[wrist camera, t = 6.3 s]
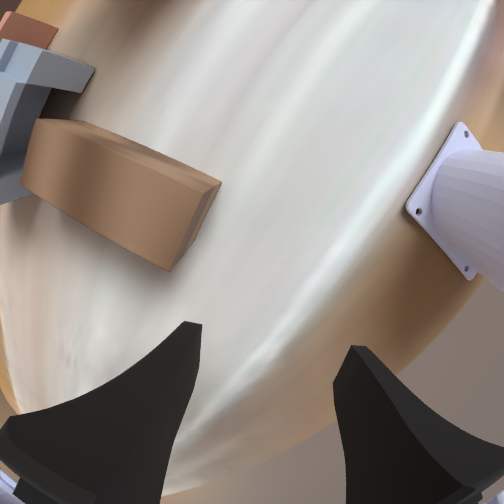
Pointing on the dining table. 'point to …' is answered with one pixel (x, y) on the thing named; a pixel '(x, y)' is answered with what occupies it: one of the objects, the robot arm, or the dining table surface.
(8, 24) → the backstop
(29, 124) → the block
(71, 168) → the peg
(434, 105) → the dining table surface
